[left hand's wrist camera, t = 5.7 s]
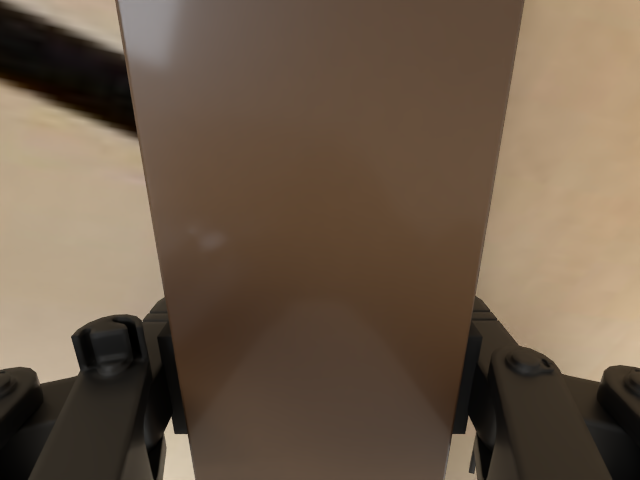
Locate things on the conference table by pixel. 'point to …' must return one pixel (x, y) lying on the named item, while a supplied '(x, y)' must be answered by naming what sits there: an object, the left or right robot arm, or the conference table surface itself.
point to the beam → (319, 220)
